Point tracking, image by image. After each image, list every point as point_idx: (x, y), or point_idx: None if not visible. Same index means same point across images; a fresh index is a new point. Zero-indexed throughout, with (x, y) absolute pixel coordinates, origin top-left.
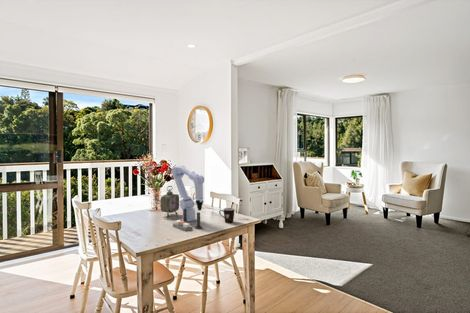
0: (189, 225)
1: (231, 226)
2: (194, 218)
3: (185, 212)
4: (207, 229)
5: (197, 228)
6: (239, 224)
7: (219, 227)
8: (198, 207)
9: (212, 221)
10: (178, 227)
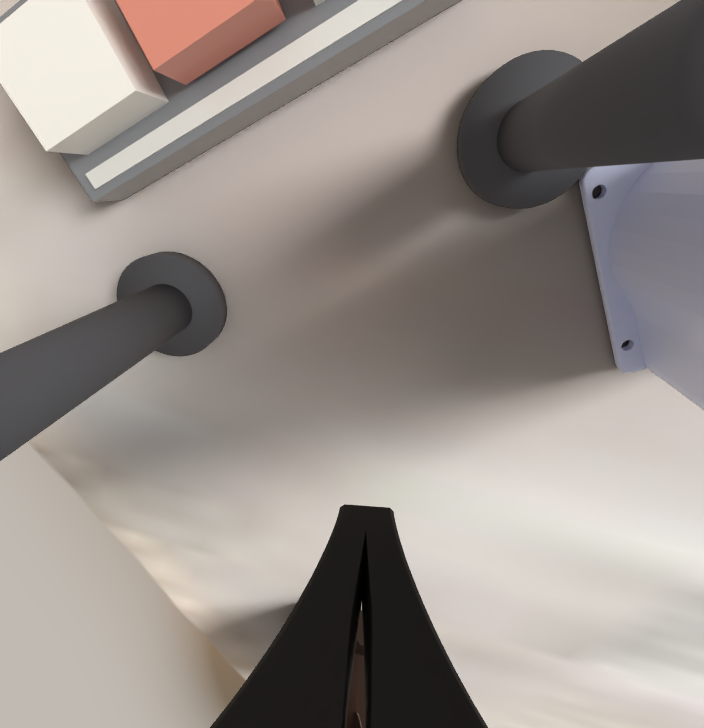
0: (65, 145)
1: (181, 594)
2: (649, 357)
3: (590, 111)
4: (106, 388)
5: (125, 279)
6: (228, 651)
7: (166, 509)
8: (322, 582)
9: (419, 520)
10: None
